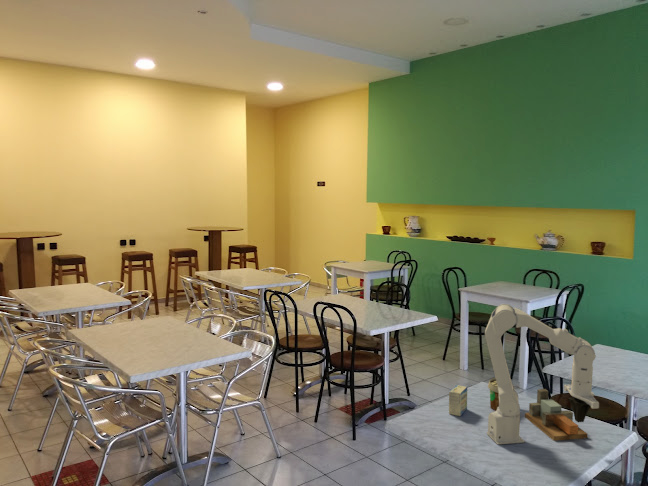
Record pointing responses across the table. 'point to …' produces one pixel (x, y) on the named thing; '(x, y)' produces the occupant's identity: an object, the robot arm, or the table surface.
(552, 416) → the clamp jaw
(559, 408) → the block
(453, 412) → the medicine box
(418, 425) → the table surface
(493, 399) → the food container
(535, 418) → the press
